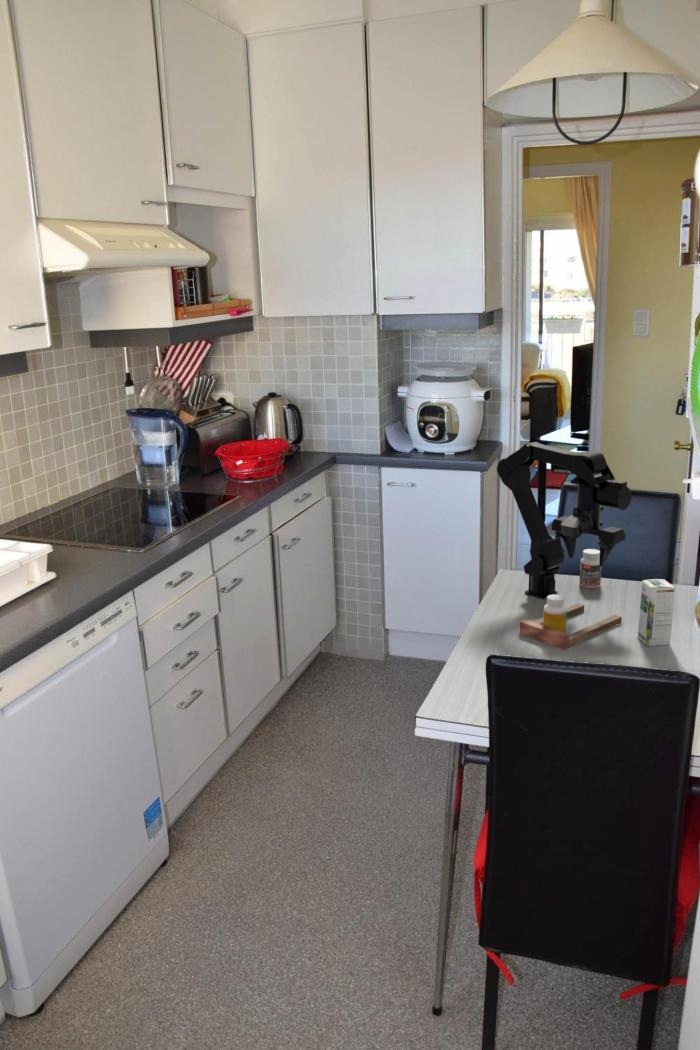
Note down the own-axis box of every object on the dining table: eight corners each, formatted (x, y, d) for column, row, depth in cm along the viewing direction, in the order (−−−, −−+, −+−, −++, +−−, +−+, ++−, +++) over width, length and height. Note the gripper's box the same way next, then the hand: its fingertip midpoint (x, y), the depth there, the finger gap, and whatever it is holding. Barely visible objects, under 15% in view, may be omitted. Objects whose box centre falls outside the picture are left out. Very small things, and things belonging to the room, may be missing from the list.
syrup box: (636, 637, 201) (640, 579, 197) (660, 635, 201) (665, 578, 197) (646, 646, 195) (650, 587, 191) (671, 645, 196) (676, 586, 192)
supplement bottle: (566, 640, 201) (567, 601, 198) (542, 639, 202) (544, 600, 199) (565, 631, 206) (566, 593, 203) (542, 630, 207) (543, 592, 204)
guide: (519, 632, 205) (519, 621, 205) (577, 608, 219) (578, 597, 218) (563, 649, 196) (563, 637, 195) (621, 622, 209) (621, 611, 209)
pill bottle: (580, 588, 234) (582, 554, 231) (578, 581, 239) (579, 548, 236) (601, 588, 233) (603, 554, 230) (598, 581, 238) (600, 548, 235)
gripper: (538, 502, 215) (537, 560, 219) (601, 515, 201) (598, 577, 205) (566, 494, 221) (563, 551, 225) (628, 507, 207) (625, 567, 211)
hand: (586, 561), depth 217 cm, fingers open, 9 cm apart
